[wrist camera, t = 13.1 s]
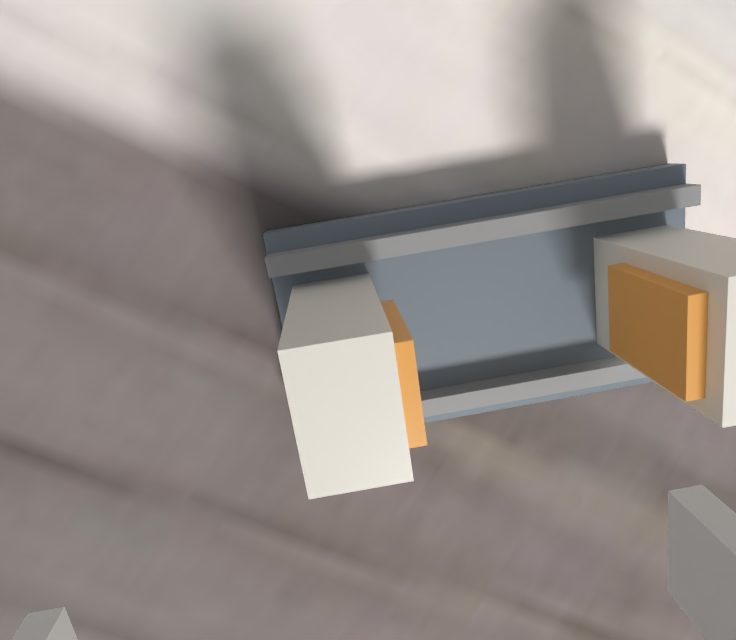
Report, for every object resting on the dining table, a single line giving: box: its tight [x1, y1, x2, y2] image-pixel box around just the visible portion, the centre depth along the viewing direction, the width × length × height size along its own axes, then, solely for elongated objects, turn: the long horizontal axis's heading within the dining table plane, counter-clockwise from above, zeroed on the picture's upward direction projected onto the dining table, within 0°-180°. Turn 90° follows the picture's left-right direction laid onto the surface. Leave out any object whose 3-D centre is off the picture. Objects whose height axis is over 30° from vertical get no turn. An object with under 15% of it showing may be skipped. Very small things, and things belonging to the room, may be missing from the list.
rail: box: [263, 164, 736, 428], centre depth 25 cm, size 12×22×12 cm, turn 99°
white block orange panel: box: [277, 273, 427, 499], centre depth 24 cm, size 6×5×10 cm
